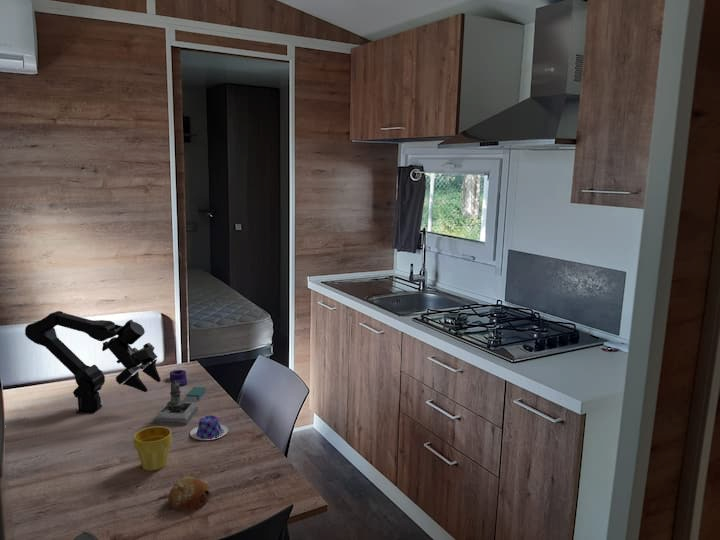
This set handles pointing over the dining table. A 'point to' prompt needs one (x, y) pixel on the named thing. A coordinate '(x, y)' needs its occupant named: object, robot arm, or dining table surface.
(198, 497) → the bread roll
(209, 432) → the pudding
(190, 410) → the square frying pan
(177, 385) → the chess piece
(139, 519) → the dining table surface
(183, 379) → the lever
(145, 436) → the plant pot
